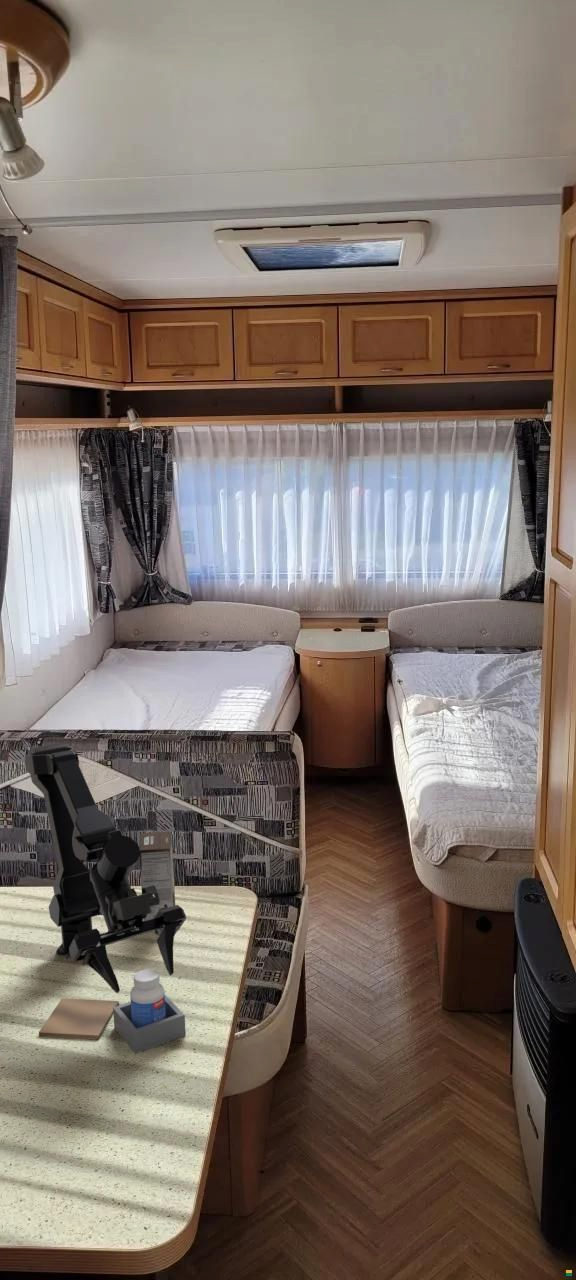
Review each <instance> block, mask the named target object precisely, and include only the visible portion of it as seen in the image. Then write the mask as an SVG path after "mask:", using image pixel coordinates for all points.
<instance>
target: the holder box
mask: <svg viewBox="0 0 576 1280" xmlns="http://www.w3.org/2000/svg"><path fill="white" fill-rule="evenodd" d="M164 995H165V1012H166V1019H163V1020H160V1021H157V1022H154V1023H152V1024H149V1025H146V1026H143V1027H140V1028H138V1029H136V1027H135V1026H134V1025H133V1024H132V1015H131V1001H129V1002H126V1003H125V1002H124V1003H123V1004H119V1005H118V1006H116V1007H113V1015H112V1016H113V1024H114V1025H113V1026H114V1029H115V1030H116V1032H117V1033H118V1034H119V1035H120V1036H121V1037H122V1039H123V1040H124V1041H125V1043H126V1044H127V1045H128V1046H129V1048H130V1049H131V1050H132V1051H133V1052H134V1055H136V1054H138V1053H141V1052H144V1051H146V1050H149V1049H153V1048H155V1047H157V1046H160V1045H162V1044H166V1043H168V1042H171V1041H173V1040H176V1038H177V1039H178V1038H179V1039H180V1038H182V1037H185V1036H186V1035H187V1032H186V1030H187V1029H186V1018H185V1017H186V1016H185V1014H184V1012H183V1011H182V1010H181V1009H180V1008H179V1007H178V1006H177V1005H176V1004H175V1003H174V1002H173V1001H172V1000H171V999H170V997H168V996H167V994H166V993H164ZM184 1035H185V1036H184Z"/></svg>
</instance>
